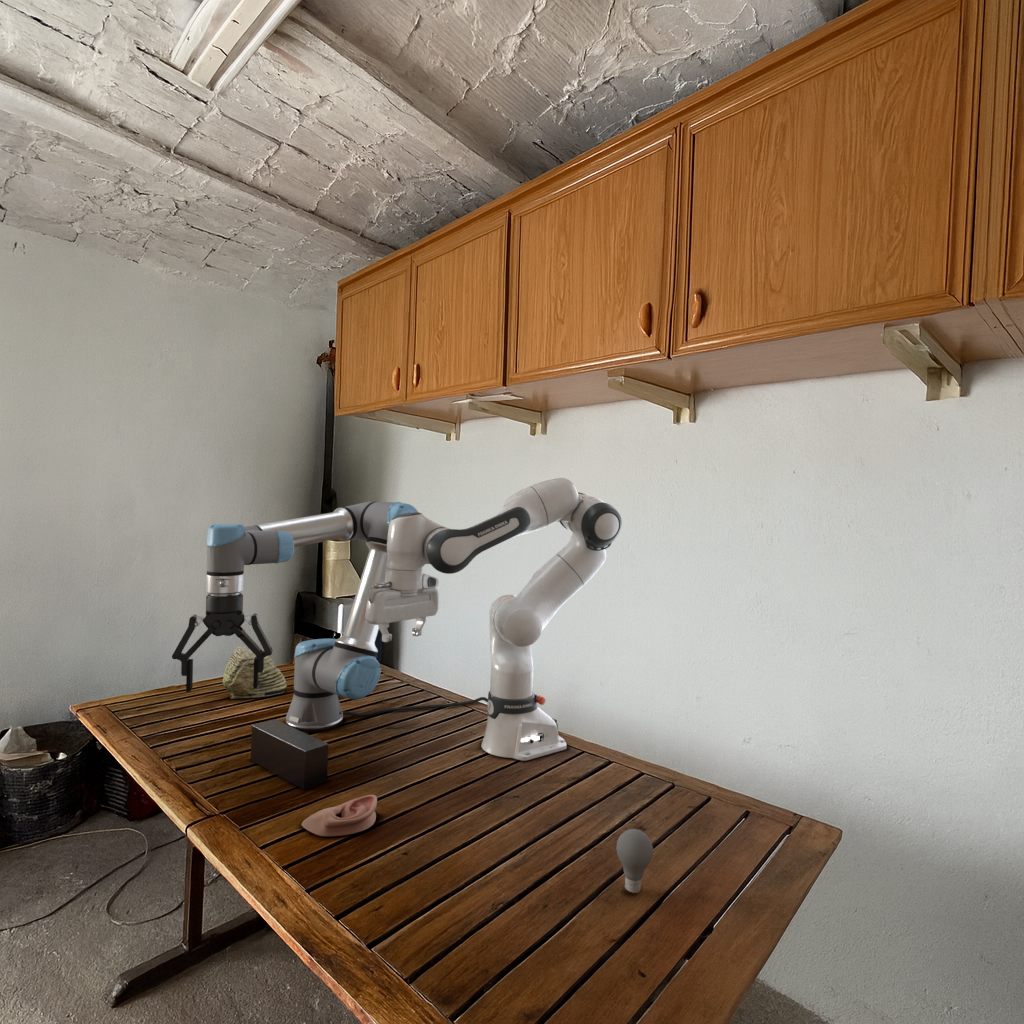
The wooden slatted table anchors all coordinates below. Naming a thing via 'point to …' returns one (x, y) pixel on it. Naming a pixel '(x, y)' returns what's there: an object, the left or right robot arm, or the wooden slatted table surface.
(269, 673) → the fossil
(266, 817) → the wooden slatted table surface
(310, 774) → the box
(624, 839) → the light bulb
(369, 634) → the left robot arm
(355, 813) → the anatomical model
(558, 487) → the right robot arm
